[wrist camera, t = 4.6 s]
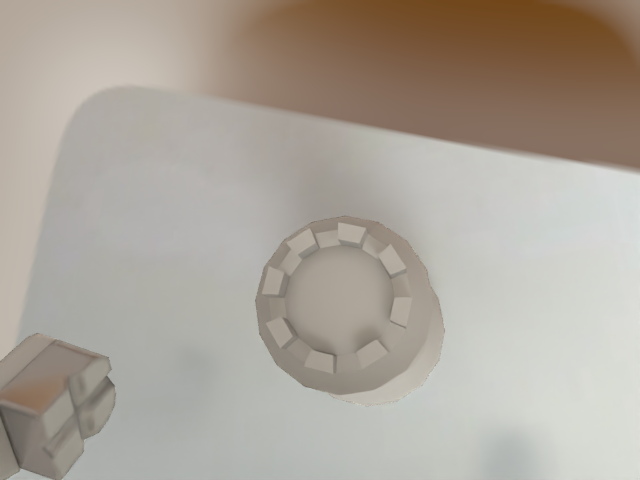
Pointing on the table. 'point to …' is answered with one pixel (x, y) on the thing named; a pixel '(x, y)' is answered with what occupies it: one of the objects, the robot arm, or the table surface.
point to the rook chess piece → (350, 311)
